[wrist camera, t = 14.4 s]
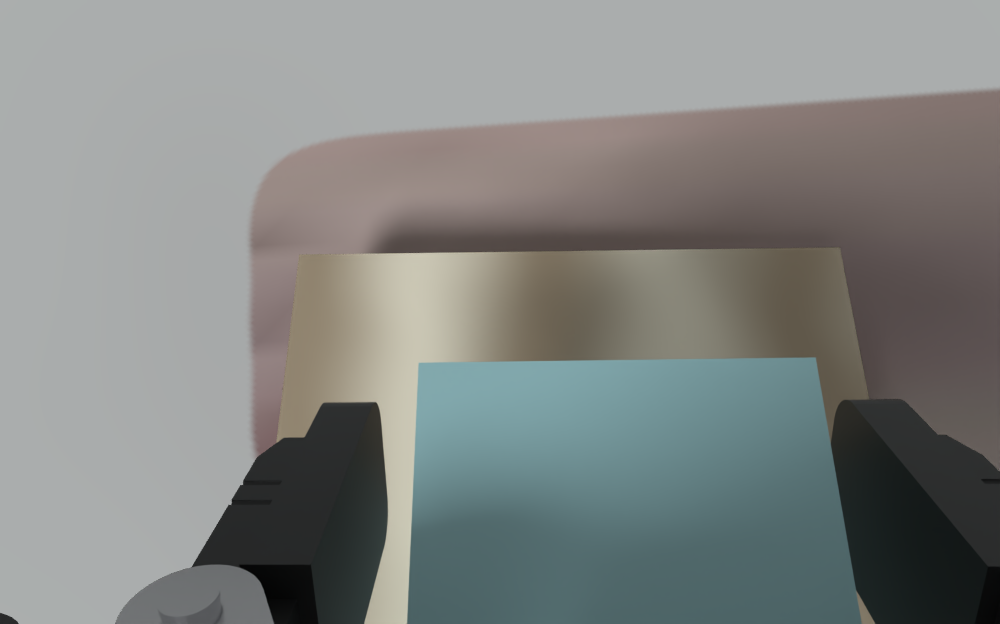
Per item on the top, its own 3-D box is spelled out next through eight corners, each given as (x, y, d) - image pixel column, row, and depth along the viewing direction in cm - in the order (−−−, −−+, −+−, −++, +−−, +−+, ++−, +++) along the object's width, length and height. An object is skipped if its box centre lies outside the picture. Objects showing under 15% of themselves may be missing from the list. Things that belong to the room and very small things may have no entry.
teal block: (671, 518, 18) (815, 357, 9) (691, 741, 16) (896, 825, 7) (475, 520, 18) (418, 362, 9) (472, 740, 16) (398, 822, 7)
